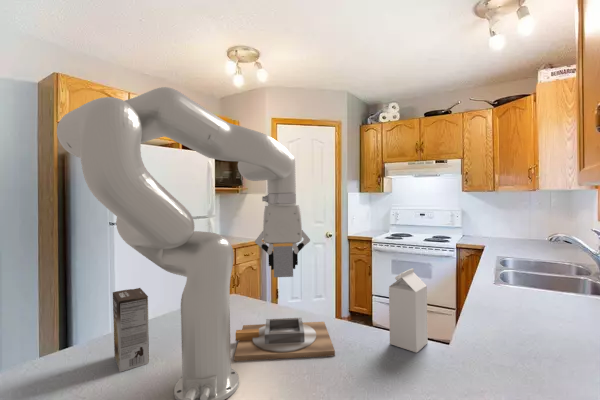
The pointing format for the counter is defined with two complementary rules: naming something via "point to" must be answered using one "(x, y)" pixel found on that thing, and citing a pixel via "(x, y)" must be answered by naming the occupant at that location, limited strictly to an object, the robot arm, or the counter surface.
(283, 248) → the grey orange block
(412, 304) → the milk carton
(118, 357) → the coffee box
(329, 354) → the rosette board
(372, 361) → the counter surface
